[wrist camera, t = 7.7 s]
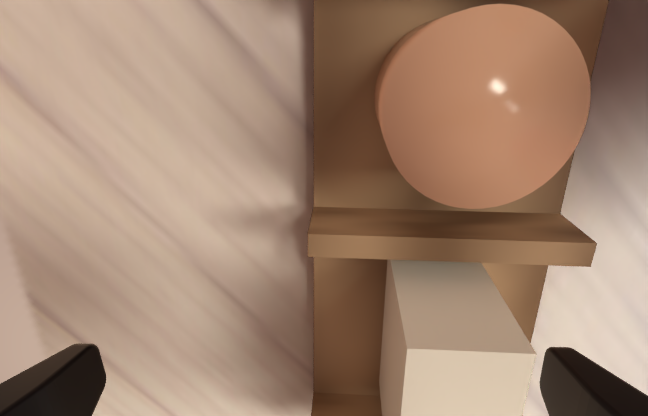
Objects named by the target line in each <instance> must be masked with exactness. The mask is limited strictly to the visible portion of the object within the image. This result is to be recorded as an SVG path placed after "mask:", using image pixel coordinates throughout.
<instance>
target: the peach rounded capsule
mask: <svg viewBox="0 0 648 416" xmlns="http://www.w3.org/2000/svg"><path fill="white" fill-rule="evenodd" d="M590 97H591V88H590V78H589V73H588V69H587V65H586V62H585V60H584V57H583V55H582V53H581V50H580V49H579V47H578V46H577V44H576V42H575V41H574V39H573V38H572V37H571V36H570V35H569V34H568V32H567V31H566V30H565V29H564V28H563V27H562V26H560V25H559V24H558V23H557V22H556V21H554V20H553V19H551V18H549V17H548V16H546V15H544V14H543V13H540V12H538V11H535V10H533V9H530V8H527V7H522V6H518V5H511V4H489V5H482V6H477V7H472V8H469V9H465V10H462V11H459V12H456V13H452V14H449V15H446V16H443V17H440V18H436V19H433V20H431V21H428V22H425V23H423V24H421V25H419V26H417V27H416V28H414V29H413V30H411V31H410V32H408V33H407V34H406V35H405V36H403V37H402V38H401V39H400V40H399V41H398V42H397V43H396V44H395V45H394V47H393V48H392V49H391V51H390V52H389V53H388V55H387V56H386V58H385V60H384V62H383V64H382V66H381V68H380V71H379V73H378V76H377V80H376V84H375V92H374V106H375V113H376V117H377V121H378V124H379V127H380V130H381V132H382V135H383V138H384V140H385V143H386V146H387V149H388V151H389V154H390V156H391V158H392V160H393V163H394V164H395V166H396V167H397V169H398V171H399V172H400V174H401V175H402V176H403V177H404V178H405V180H406V181H407V182H408V183H409V184H410V185H411V186H412V187H414V188H415V189H416V190H417V191H419V192H420V193H422V194H423V195H424V196H426V197H428V198H430V199H432V200H434V201H436V202H439V203H442V204H444V205H448V206H452V207H457V208H465V209H484V208H491V207H497V206H500V205H504V204H508V203H510V202H513V201H516V200H518V199H521V198H522V197H524V196H526V195H528V194H530V193H532V192H533V191H535V190H536V189H538V188H539V187H541V186H542V185H544V184H545V183H546V182H547V181H548V180H550V179H551V178H552V177H553V176H554V175H555V174H556V173H557V172H558V171H559V170H560V169H561V168H562V167H563V165H564V164H565V163H566V162H567V160H568V159H569V158H570V156H571V155H572V153H573V151H574V150H575V148H576V146H577V145H578V143H579V141H580V138H581V136H582V134H583V132H584V129H585V125H586V122H587V119H588V114H589V108H590Z"/></svg>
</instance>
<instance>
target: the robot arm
mask: <svg viewBox="0 0 648 416" xmlns="http://www.w3.org/2000/svg"><path fill="white" fill-rule="evenodd" d="M105 383H106V373H105V370H104V366H103V362H102V359H101V355H100V352H99V349H98V347H97V346H96V345H94V344H74V345H71V346H70V347H68V348H66V349H64V350H62V351H60V352H58V353H57V354H55V355H53V356H51V357H49V358H47V359H45V360H44V361H42V362H40V363H38V364H36V365H34V366H33V367H31V368H29V369H27V370H25V371H23V372H21V373H20V374H18V375H16V376H14V377H12V378H10V379H8V380H7V381H5V382H3V383H1V384H0V416H92V414H93V412H94V410H95V408H96V405H97V403H98V401H99V399H100V396H101V394H102V392H103V390H104V387H105ZM540 389H541V394H542V397H543V400H544V402H545V405H546V408H547V411H548V414H549V416H648V396H647V395H646V394H644V393H642V392H641V391H639V390H638V389H636V388H634V387H633V386H631V385H630V384H628V383H627V382H625V381H623V380H622V379H620V378H619V377H617V376H615V375H614V374H612V373H611V372H609V371H607V370H606V369H604V368H603V367H601V366H599V365H598V364H596V363H595V362H593V361H591V360H590V359H588V358H587V357H585V356H584V355H582V354H580V353H579V352H577V351H576V350H574V349H572V348H568V347H550V348H548V349H547V350H546V352H545V356H544V361H543V367H542V372H541V377H540Z"/></svg>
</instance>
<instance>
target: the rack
mask: <svg viewBox="0 0 648 416" xmlns="http://www.w3.org/2000/svg"><path fill="white" fill-rule="evenodd" d="M608 2H609V0H314V207H313V212H312V216H311V221H310V225H309V230H308V257H314V393H313V403H312V413H311V416H382V409H381V398H380V386H379V376H380V361H381V347H382V332H383V318H384V303H385V289H386V274H387V260H415V261H443V262H472V263H482V265H483V266H484V268H485V270H486V271H487V273H488V275H489V276H490V278H491V280H492V281H493V283H494V285H495V286H496V288H497V289H498V291H499V293H500V294H501V296H502V298H503V299H504V301H505V303H506V304H507V306H508V308H509V309H510V311H511V313H512V314H513V316H514V318H515V319H516V321H517V323H518V324H519V326H520V327H521V329H522V331H523V332H524V334H525V336H526V337H527V339H528V341H529V342H530V343H531V338H532V334H533V330H534V325H535V321H536V317H537V312H538V308H539V303H540V299H541V295H542V290H543V286H544V282H545V277H546V273H547V268H548V265H558V266H586V267H591V263H592V260H593V256H594V252H595V249H596V245H597V243H596V242H595V241H593V240H592V239H591V238H590V237H588V236H587V235H586V234H585V233H583V232H582V231H581V230H580V229H578V228H577V227H576V226H575V225H573V224H572V223H571V222H570V221H568V220H567V219H566V218H565V217H563V216H562V215H561V214H560V212H561V207H562V203H563V199H564V194H565V190H566V185H567V181H568V177H569V172H570V168H571V164H572V159H573V155H574V151H575V150H574V151H573V153H572V155H571V156H570V158H569V159H568V160H567V162H566V163H565V164H564V165H563V167H562V168H561V169H560V170H559V171H558V172H557V173H556V174H555V175H554V176H553V177H552V178H551V179H550V180H548V181H547V182H546V183H545V184H544V185H542V186H541V187H539V188H538V189H536V190H535V191H533V192H532V193H530V194H528V195H526V196H524V197H522V198H521V199H518V200H516V201H513V202H510V203H508V204H504V205H500V206H497V207H491V208H484V209H465V208H457V207H452V206H448V205H444V204H442V203H439V202H436V201H434V200H432V199H430V198H428V197H426V196H424V195H423V194H422V193H420V192H419V191H417V190H416V189H415V188H414V187H412V186H411V185H410V184H409V183H408V182H407V181H406V180H405V178H404V177H403V176H402V175H401V174H400V172H399V171H398V169H397V167H396V166H395V164H394V163H393V160H392V158H391V156H390V154H389V151H388V149H387V146H386V143H385V140H384V138H383V135H382V132H381V130H380V127H379V124H378V121H377V117H376V113H375V106H374V92H375V84H376V80H377V76H378V73H379V71H380V68H381V66H382V64H383V62H384V60H385V58H386V56H387V55H388V53H389V52H390V51H391V49H392V48H393V47H394V45H395V44H396V43H397V42H398V41H399V40H400V39H401V38H402V37H403V36H405V35H406V34H407V33H408V32H410V31H411V30H413V29H414V28H416V27H417V26H419V25H421V24H423V23H425V22H428V21H431V20H433V19H436V18H440V17H443V16H446V15H449V14H452V13H456V12H459V11H462V10H465V9H469V8H472V7H477V6H482V5H489V4H511V5H518V6H522V7H527V8H530V9H533V10H535V11H538V12H540V13H543V14H544V15H546V16H548V17H549V18H551V19H553V20H554V21H556V22H557V23H558V24H559V25H560V26H562V27H563V28H564V29H565V30H566V31H567V32H568V34H569V35H570V36H571V37H572V38H573V39H574V41H575V42H576V44H577V46H578V47H579V49H580V50H581V53H582V55H583V57H584V60H585V62H586V65H587V69H588V73H589V78H590V81H591V76H592V72H593V68H594V63H595V59H596V54H597V50H598V46H599V41H600V37H601V33H602V28H603V24H604V19H605V15H606V11H607V6H608ZM522 416H523V415H522Z"/></svg>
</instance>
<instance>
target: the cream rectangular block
mask: <svg viewBox="0 0 648 416" xmlns="http://www.w3.org/2000/svg"><path fill="white" fill-rule="evenodd" d="M536 355H537V354H536V352H535V351H534V349H533V347H532V346H531V344H530V342H529V341H528V339H527V337H526V336H525V334H524V332H523V331H522V329H521V327H520V326H519V324H518V323H517V321H516V319H515V318H514V316H513V314H512V313H511V311H510V309H509V308H508V306H507V304H506V303H505V301H504V299H503V298H502V296H501V294H500V293H499V291H498V289H497V288H496V286H495V285H494V283H493V281H492V280H491V278H490V276H489V275H488V273H487V271H486V270H485V268H484V266H483V265H482V263H472V262H443V261H415V260H387V274H386V289H385V303H384V318H383V332H382V347H381V361H380V376H379V386H380V398H381V409H382V416H522V414H523V410H524V406H525V401H526V397H527V393H528V389H529V384H530V380H531V376H532V372H533V367H534V363H535V359H536Z"/></svg>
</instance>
